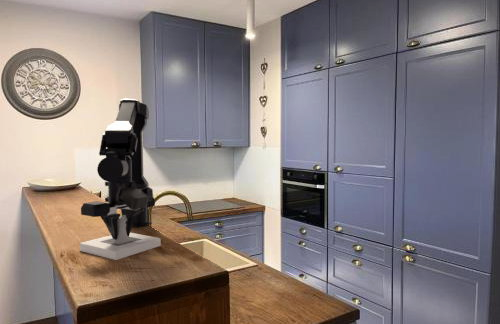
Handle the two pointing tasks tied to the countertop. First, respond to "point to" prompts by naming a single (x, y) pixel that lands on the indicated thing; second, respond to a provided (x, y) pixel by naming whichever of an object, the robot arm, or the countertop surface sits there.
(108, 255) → the socket block
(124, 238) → the rook chess piece
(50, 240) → the countertop surface
